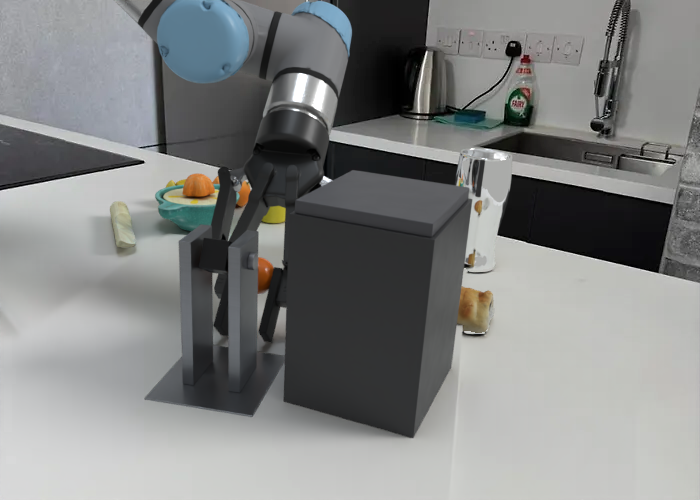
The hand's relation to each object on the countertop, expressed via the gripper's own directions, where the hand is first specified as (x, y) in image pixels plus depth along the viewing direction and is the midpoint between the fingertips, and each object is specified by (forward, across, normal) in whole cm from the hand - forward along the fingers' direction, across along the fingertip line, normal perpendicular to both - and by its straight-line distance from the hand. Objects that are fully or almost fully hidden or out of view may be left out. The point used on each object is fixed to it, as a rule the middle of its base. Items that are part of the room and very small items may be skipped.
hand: (243, 333), depth 63 cm
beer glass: (-21, -21, -24) cm, 38 cm away
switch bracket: (+6, 0, +2) cm, 6 cm away
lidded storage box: (+4, -13, 0) cm, 13 cm away
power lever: (-3, 0, +5) cm, 6 cm away
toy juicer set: (-24, +21, -27) cm, 42 cm away
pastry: (-8, -19, -12) cm, 24 cm away
